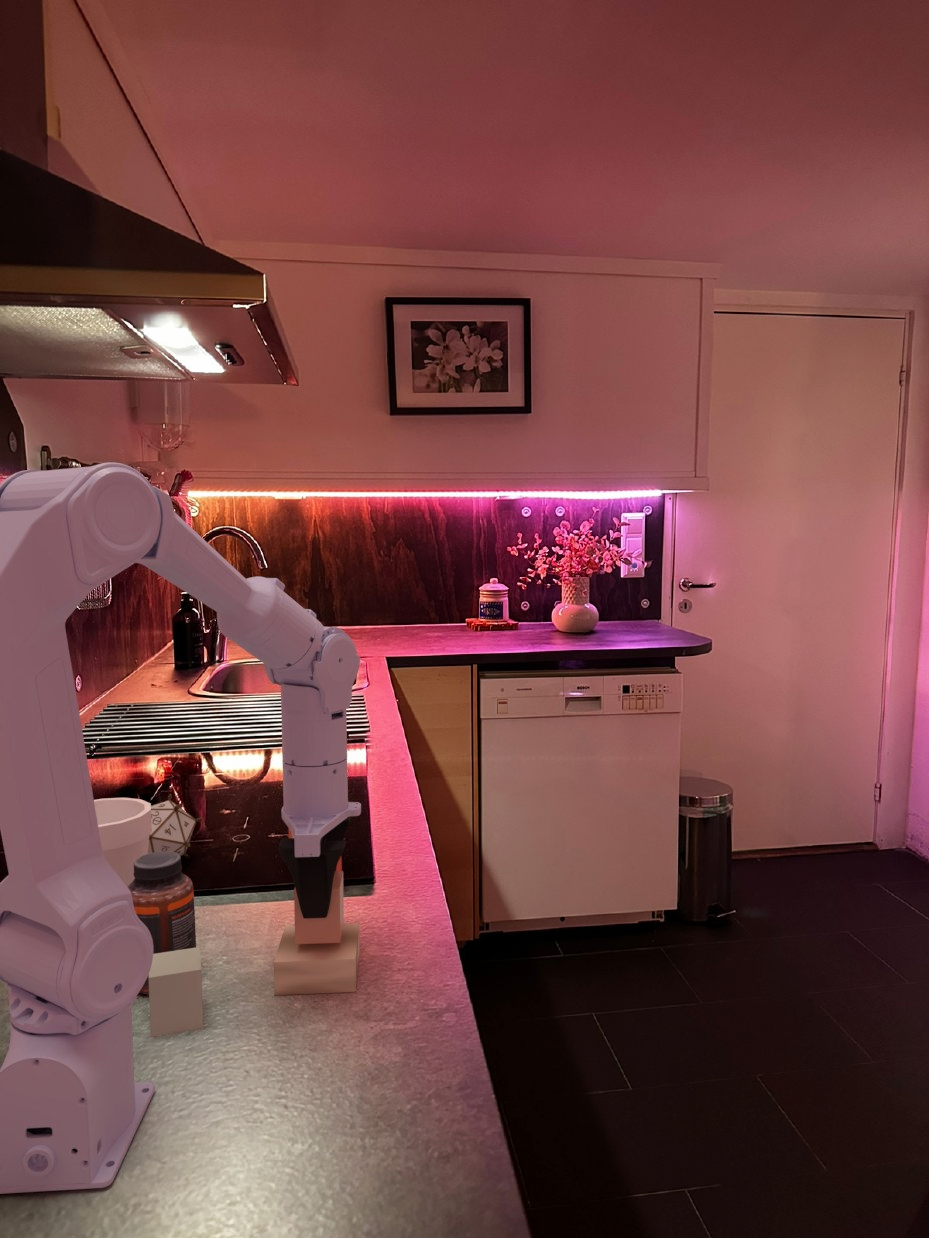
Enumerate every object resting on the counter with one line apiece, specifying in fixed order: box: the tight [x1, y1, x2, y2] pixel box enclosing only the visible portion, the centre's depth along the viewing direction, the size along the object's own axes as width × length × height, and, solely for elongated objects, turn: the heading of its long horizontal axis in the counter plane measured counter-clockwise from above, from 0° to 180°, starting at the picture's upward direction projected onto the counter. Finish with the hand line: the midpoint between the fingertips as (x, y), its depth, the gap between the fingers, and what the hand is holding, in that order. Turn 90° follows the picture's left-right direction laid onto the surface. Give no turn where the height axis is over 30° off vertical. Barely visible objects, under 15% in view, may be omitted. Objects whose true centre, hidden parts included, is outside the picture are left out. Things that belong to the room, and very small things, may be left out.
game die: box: [148, 793, 204, 858], centre depth 102 cm, size 9×8×10 cm
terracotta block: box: [293, 870, 345, 944], centre depth 75 cm, size 4×4×5 cm
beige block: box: [148, 946, 204, 1038], centre depth 68 cm, size 4×4×5 cm
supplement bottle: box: [128, 851, 197, 995], centre depth 74 cm, size 6×6×11 cm
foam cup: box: [94, 797, 152, 887], centre depth 82 cm, size 10×9×13 cm
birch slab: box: [273, 922, 361, 996], centre depth 75 cm, size 7×7×3 cm
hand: (318, 905), depth 75 cm, fingers closed on terracotta block, 4 cm apart
